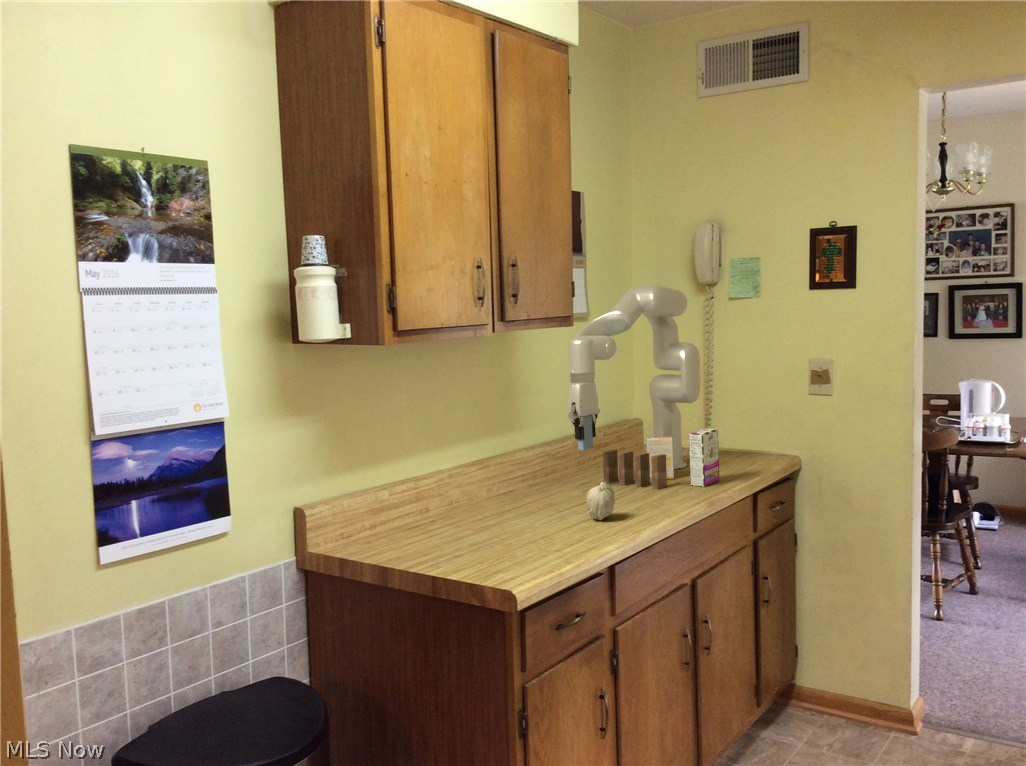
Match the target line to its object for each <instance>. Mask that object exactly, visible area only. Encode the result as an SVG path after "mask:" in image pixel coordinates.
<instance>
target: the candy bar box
mask: <svg viewBox="0 0 1026 766" xmlns="http://www.w3.org/2000/svg"><path fill="white" fill-rule="evenodd" d="M688 449H689V451H688V453H689V470H690V471H689V472H690V473H689V474H690V475H689V476H690V478H689V479H690V486H691V485H693V486H692V487H698V486H702V487H701V488H706V487H708V486H711V485H713V484H715V483H717V482H719V481H720V461H719V460H720V459H719V456H720V455H719V453H720V451H719V429H718V428H708V427H706V428H705V427H704V428H701V429H698V430H695V431H693V432H689V433H688ZM712 483H713V484H712ZM707 485H708V486H707ZM705 486H706V487H705Z"/></svg>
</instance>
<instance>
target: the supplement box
mask: <svg viewBox="0 0 1026 766" xmlns="http://www.w3.org/2000/svg"><path fill="white" fill-rule="evenodd" d="M645 442H646V444H645V445H646V453H649V461H650V479H652V461H651V456H655V455H658V454H666V472H667V480H674V479H675V472H674V471H675V469H674V464H673V439H672V438H671V437H646V438H645Z"/></svg>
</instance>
